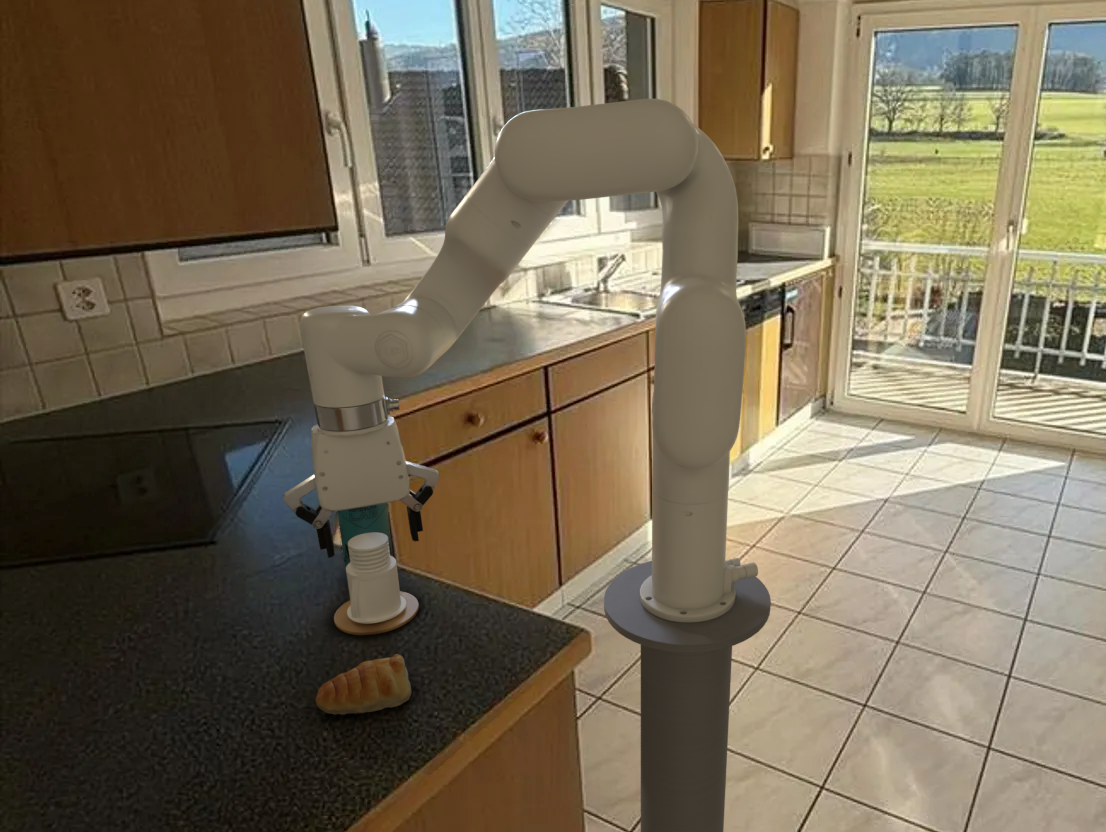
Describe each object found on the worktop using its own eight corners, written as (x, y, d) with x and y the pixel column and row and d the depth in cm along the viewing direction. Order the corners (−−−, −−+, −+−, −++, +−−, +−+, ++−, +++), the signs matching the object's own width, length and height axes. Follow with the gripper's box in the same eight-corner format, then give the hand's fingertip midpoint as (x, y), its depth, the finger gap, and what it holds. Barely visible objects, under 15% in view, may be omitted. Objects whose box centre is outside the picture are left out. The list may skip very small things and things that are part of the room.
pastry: (320, 730, 80) (315, 699, 79) (314, 693, 86) (309, 663, 85) (416, 702, 85) (412, 672, 84) (405, 669, 90) (401, 640, 89)
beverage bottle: (338, 572, 110) (318, 438, 103) (386, 557, 114) (370, 428, 108) (355, 590, 106) (335, 452, 99) (404, 575, 110) (388, 441, 103)
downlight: (374, 590, 105) (365, 523, 102) (420, 599, 104) (412, 531, 100) (332, 621, 98) (320, 550, 94) (380, 632, 96) (370, 559, 93)
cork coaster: (414, 586, 107) (413, 584, 107) (423, 624, 99) (422, 621, 99) (333, 602, 103) (332, 599, 103) (335, 642, 95) (335, 639, 94)
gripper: (425, 396, 98) (442, 519, 104) (269, 414, 91) (296, 546, 97) (434, 413, 92) (450, 543, 98) (266, 434, 85) (295, 573, 91)
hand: (373, 544), depth 98 cm, fingers open, 9 cm apart
